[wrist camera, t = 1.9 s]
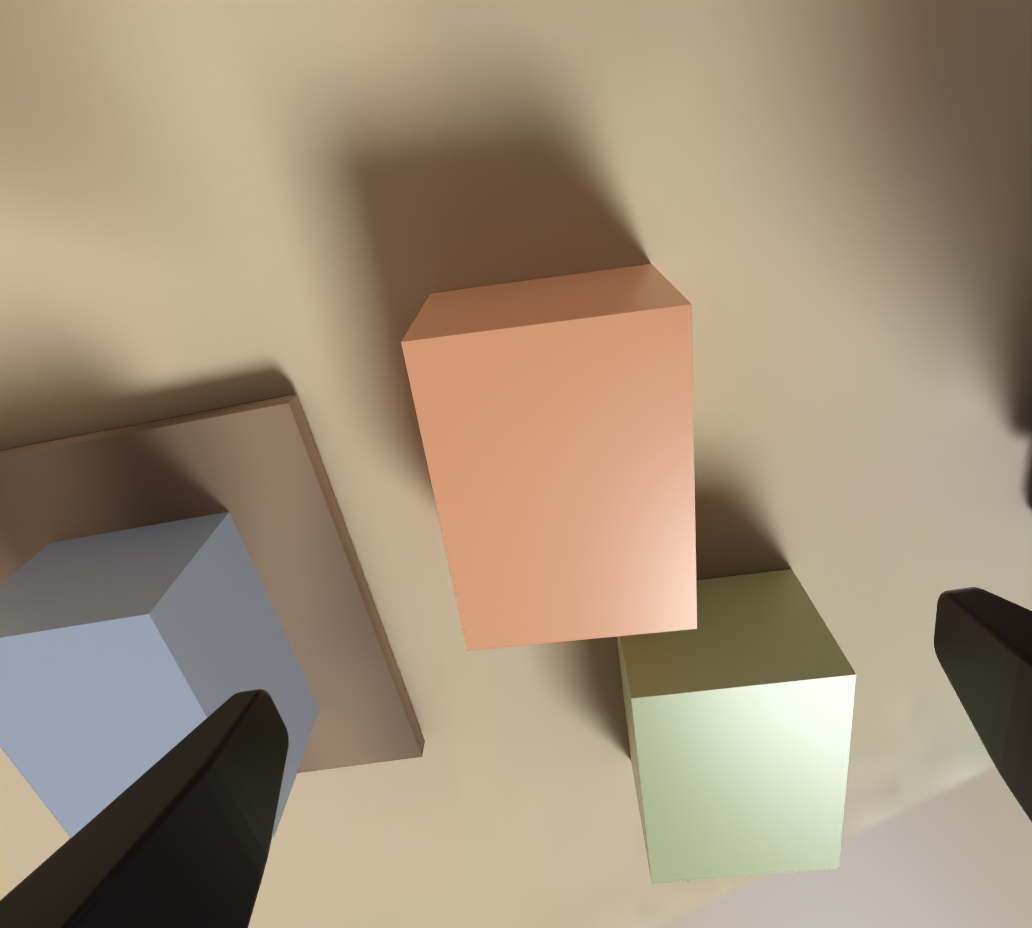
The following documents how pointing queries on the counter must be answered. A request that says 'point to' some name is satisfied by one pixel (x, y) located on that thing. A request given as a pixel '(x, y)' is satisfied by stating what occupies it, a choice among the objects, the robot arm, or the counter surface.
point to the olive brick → (740, 733)
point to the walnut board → (266, 535)
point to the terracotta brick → (561, 453)
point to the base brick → (136, 658)
